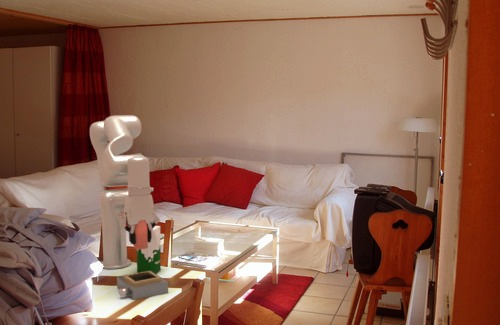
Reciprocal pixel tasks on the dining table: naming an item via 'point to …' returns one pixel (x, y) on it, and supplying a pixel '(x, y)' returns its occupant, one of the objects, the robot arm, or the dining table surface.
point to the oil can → (141, 235)
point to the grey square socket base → (141, 285)
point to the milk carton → (150, 254)
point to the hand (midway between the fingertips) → (140, 242)
